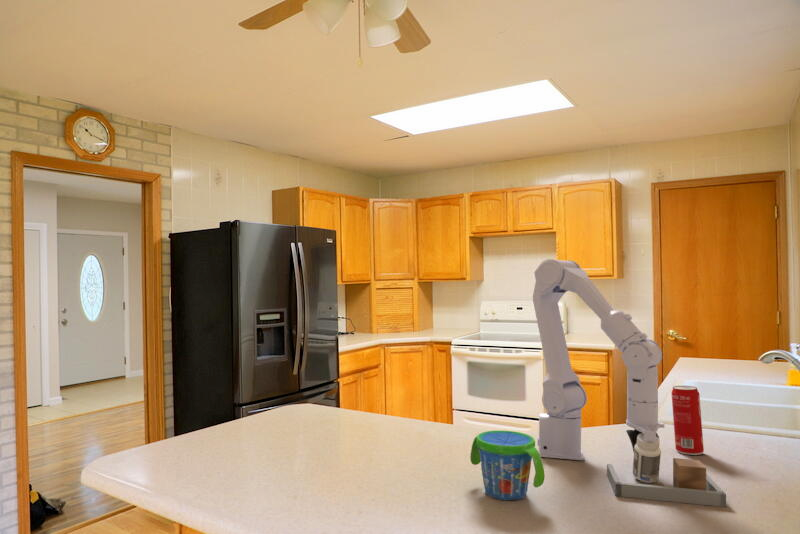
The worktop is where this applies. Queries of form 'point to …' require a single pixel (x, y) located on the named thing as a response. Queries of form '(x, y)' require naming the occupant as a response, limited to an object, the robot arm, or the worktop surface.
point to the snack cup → (507, 463)
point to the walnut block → (689, 474)
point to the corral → (668, 491)
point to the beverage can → (687, 420)
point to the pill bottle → (646, 459)
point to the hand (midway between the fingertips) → (642, 467)
